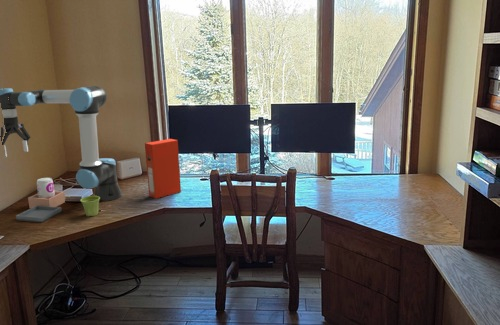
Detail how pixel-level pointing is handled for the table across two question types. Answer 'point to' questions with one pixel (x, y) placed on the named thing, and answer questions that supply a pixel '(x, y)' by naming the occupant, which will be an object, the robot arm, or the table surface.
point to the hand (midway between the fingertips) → (15, 154)
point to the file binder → (163, 168)
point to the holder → (47, 200)
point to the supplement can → (45, 188)
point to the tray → (38, 213)
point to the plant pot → (90, 205)
